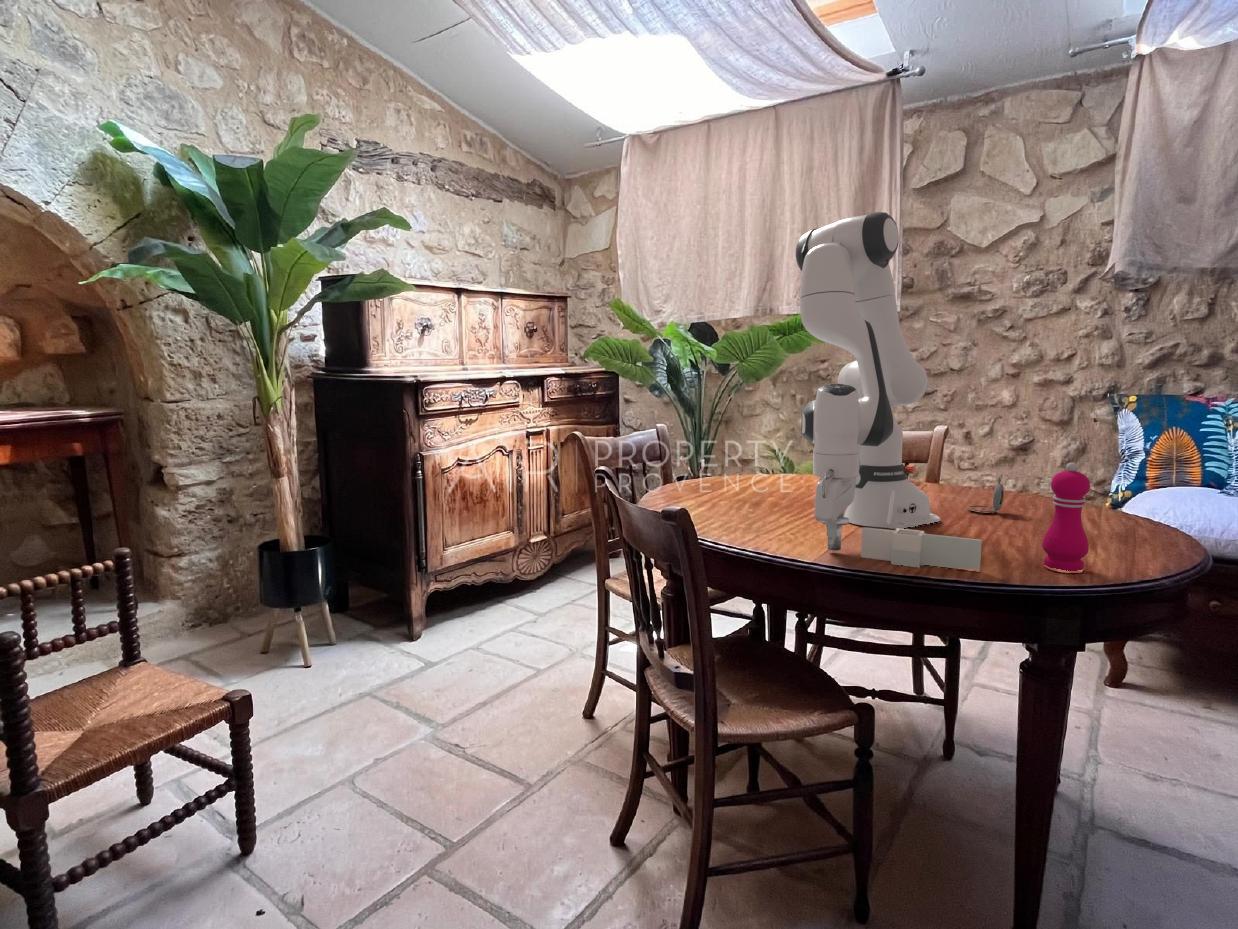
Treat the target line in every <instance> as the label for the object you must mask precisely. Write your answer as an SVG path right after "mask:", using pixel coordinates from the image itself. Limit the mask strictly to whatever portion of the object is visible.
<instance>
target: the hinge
mask: <svg viewBox="0 0 1238 929" xmlns="http://www.w3.org/2000/svg"><path fill="white" fill-rule="evenodd" d="M982 542H983V540H982V539H978V538H971V537H970V538H969V537H961V536H950V535H942V534H941V535H940V534H931V533H925V531H924V530H919V529H918V530H917V529H910V528H906V529H900V528H897V529H887V528H877V527H868V526H862V527H861V543H860V544H861V550H860V551H861V552H860V558H861V559H862V558H863V559H870V558H871V560H877V561H884V562H885V561H887V562H890V564H891V565H895V566H901V565H903V566H902V567H908V566H909V567H911V568H916V567H917V569H918V568H919V569H920V567H921V566H924V565H931V566H930V567H932V566H939V567H938V568H940V567H949V568H965V569H975V570H980V571H981V559H982V558H981V557H982V556H981V555H982V545H983V544H982Z"/></svg>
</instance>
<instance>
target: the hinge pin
mask: <svg viewBox="0 0 1238 929" xmlns="http://www.w3.org/2000/svg"><path fill="white" fill-rule="evenodd" d="M820 523H821V524H823V525H826V524H825V522H824V521H820ZM846 525H847V526H848V525H849V518H847V517H843V516H838V517H837V535H836V537H834V538H833V537H828V536H827V550H829V551H833V552H834V551H841V550H842V530H841V528H842V529H843V526H846Z"/></svg>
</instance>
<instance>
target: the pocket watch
mask: <svg viewBox="0 0 1238 929" xmlns="http://www.w3.org/2000/svg"><path fill="white" fill-rule="evenodd" d="M1002 479H1003V474H1000V475H999V477H998V479H997V484H996V485H995V487H994V490H993V496H992V506H988V505H968V506H967V510H968V509H969V510H974V509H970V508H969V507H990V508H992V509H995V510H993V511H981V510H975V511H980V512H995V511H997V512H998V511H1000V510H1001V509H1002V507H1003V504H1004V498H1005V497H1004V496H1005V488H1004V485H1003V484H1001V481H1002ZM969 510H968V511H969Z"/></svg>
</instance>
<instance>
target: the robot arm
mask: <svg viewBox="0 0 1238 929" xmlns="http://www.w3.org/2000/svg"><path fill="white" fill-rule="evenodd" d="M899 239H900V236H899V230H898V225H897V223H896V221H895V219H894V218H893V217H892V216H891V215H890V214H888V213H887V212H883V211H882V212H881V211H877V212H876V211H875V212H874V211H873V212H868V213H867V214H865V215H856V216H851V217H846V218H843V219H840V220H838V221H836V222H833V223H830V224H827V225H824V226H822V227H819V228H813V229H811V230H809V231H807V232H805V233H804V234H803V235H801V236H800V238H799V240H798V242H797V243H796V247H795V261H796V263H797V266H798V268H799V270H800V271H801V277H800V286H799V288H800V289H799V308H800V310H799V311H800V319H801V324H802V325H803V326H802V327H804V329H805V330H806V331H807V332H808V334H810V335H811V336H813V338H816V339H817V340H820V341H822V342H824V343H826V344H827V343H828V344H830V345H833V346H835V347H838V348H841V349H843V350H844V351H846V352H848V353H850V354H851V355H852V356H853V357H854V358H855V360H854V361H851V362H849V363H847V364H845V365H844V366H843V367H842V368H841V369H840V371H839V374H838V377H837V383H830V384H825V385H821V386H820V387H818V389H817V390H816V396H815V399H814V400H811V401H809V402H808V403H807V404H805V406H803V407H802V409H801V410H800V414H801V426H800V435H801V436H802V437H803V438H804V439H805V440H806V441H807V442H809V443H812V444H814V445H813V449H812V450H813V451H812V452H813V453H812V455H813V456H812V475H813V476H815V477H818V482H817V483H816V485H815V487H816V488H815V498H814V499H815V500H814V518H815V520H816V521H817V522H821V521H824V522H825V524H824V525H825V528H826V537H827V538H828V537H833V538H834V537H836V535H837V517H838V516H843V517H847V518H849V523H850V524H853V525H858V526H862V527H869V528H882V529H890V530H896V529H897V528H900V529H904V528H906V529H908V528H907V527H911V528H915V526H916V527H919V526H918V525H922V524H927V525H931V524H930V523H933V524H935V523H934V522H938V521H941V517H940V516H938V515H937V514H933V513H932V512H931V503H930V498H929V497H928V495H927V494H926V493H925V492H924V491H923V490H921V489H920V488H919V487H917V486H916V485H915V484H914V483H913V482H911V481H910V480H909V479H908V475H907V474H910V475H914V474H916V473H917V470H918V469H917V468H918V467H916V465H911V464H907V465H906V466H905V464H903V463H902V462H903V443H904V442H903V440H904V438H903V437H904V433H903V429H902V427H901V426H900V425H899V423H898V422H897V421H896V418H895V415H894V412H893V408H892V407H894V408H895V407H901V406H902V407H903V406H906V405H911V404H914V403H916V402H918V401H920V400H921V399H922V397H923V396H924V395H925V393H926V390H927V388H928V374H927V371H926V369H925V368H924V367H923V366H922V365H921V364H920V363H919V362H918V361H917V360H916V359H915V358H914V356H913V354H912V353H911V351H910V348H909V347H908V345H907V342H906V340H905V337H904V335H903V332H902V329H901V325H900V319H899V311H898V305H897V297H896V291H895V290H896V289H895V285H894V278H893V274H892V271H891V267H890V260H892V259H893V257H894V256H895V254H896V252H897V251H898V247H899V243H900V242H899V241H900V240H899ZM938 523H939V522H938ZM922 526H923V525H922ZM841 531H843V527H842V528H841Z"/></svg>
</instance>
